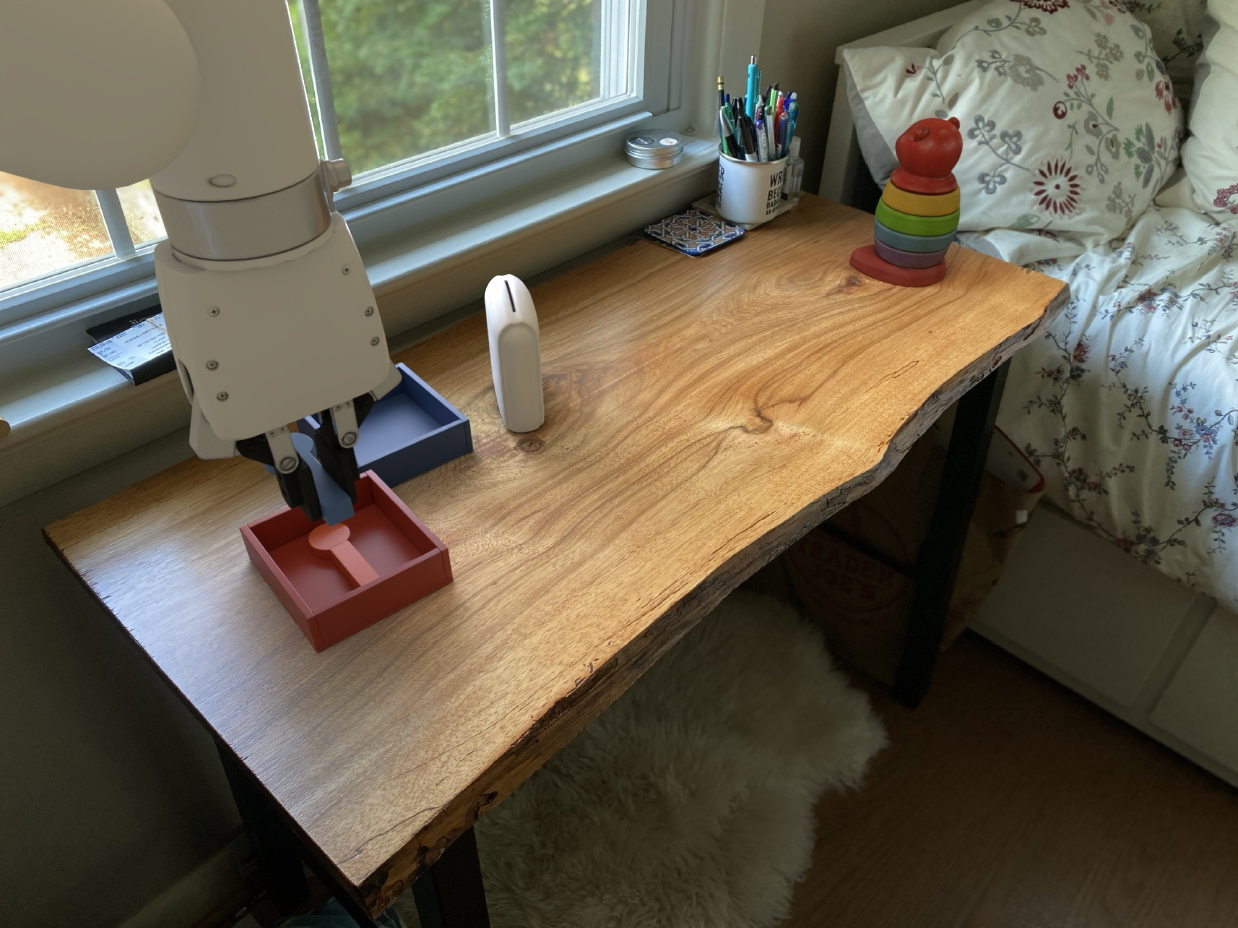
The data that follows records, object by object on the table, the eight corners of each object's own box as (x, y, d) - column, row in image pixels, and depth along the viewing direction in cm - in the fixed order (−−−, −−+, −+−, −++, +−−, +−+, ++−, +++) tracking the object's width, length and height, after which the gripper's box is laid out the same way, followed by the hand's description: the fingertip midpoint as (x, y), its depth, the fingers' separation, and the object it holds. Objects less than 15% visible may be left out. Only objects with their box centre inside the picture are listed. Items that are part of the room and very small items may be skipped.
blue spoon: (367, 510, 55) (363, 492, 54) (317, 533, 54) (311, 515, 53) (304, 438, 61) (299, 421, 60) (256, 458, 59) (250, 440, 58)
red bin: (317, 653, 66) (307, 620, 64) (249, 560, 73) (238, 527, 71) (453, 581, 71) (448, 548, 69) (378, 501, 79) (371, 468, 77)
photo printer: (490, 377, 94) (478, 265, 86) (532, 372, 94) (524, 260, 87) (502, 437, 86) (491, 319, 78) (549, 431, 87) (542, 314, 79)
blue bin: (360, 502, 79) (353, 469, 77) (299, 435, 86) (291, 404, 84) (473, 450, 84) (469, 419, 82) (406, 392, 92) (401, 362, 90)
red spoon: (395, 587, 70) (392, 574, 69) (356, 607, 69) (353, 594, 68) (341, 525, 76) (337, 512, 75) (304, 542, 74) (300, 530, 73)
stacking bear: (912, 243, 118) (942, 98, 106) (968, 277, 110) (1006, 125, 99) (841, 260, 114) (865, 112, 103) (894, 296, 107) (926, 141, 96)
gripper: (362, 148, 50) (411, 423, 62) (49, 226, 43) (172, 523, 54) (431, 191, 46) (470, 479, 57) (95, 287, 38) (218, 597, 50)
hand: (325, 499), depth 56 cm, fingers closed on blue spoon, 1 cm apart
